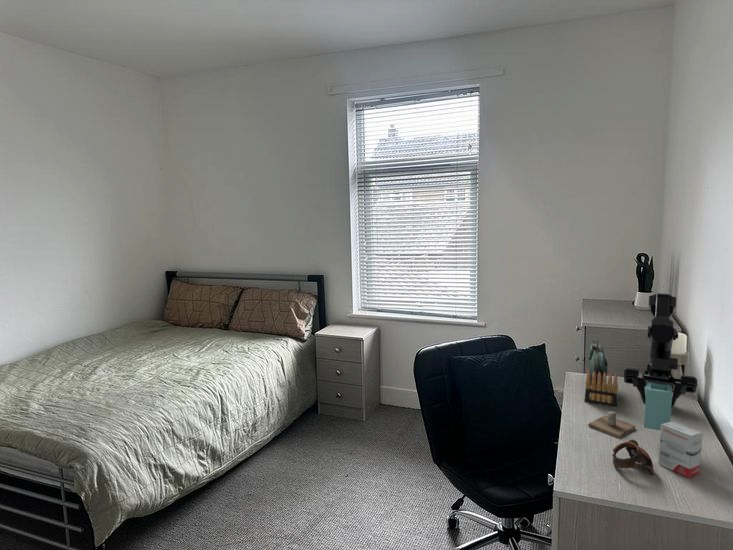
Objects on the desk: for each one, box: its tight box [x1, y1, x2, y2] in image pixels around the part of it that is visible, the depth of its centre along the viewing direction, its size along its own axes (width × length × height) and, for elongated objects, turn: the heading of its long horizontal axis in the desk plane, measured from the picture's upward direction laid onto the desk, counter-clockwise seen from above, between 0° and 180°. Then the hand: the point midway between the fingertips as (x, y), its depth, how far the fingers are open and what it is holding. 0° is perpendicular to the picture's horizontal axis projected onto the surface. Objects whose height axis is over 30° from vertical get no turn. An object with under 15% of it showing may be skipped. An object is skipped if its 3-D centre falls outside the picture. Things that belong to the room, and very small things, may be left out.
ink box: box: [657, 420, 703, 479], centre depth 130 cm, size 8×5×12 cm, turn 26°
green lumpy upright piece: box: [587, 339, 608, 390], centre depth 183 cm, size 20×6×20 cm, turn 158°
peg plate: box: [587, 410, 636, 439], centre depth 155 cm, size 10×10×5 cm
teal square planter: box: [643, 382, 673, 431], centre depth 143 cm, size 6×6×12 cm
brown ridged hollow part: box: [612, 439, 655, 476], centre depth 132 cm, size 12×10×8 cm
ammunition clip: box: [584, 369, 619, 408], centre depth 173 cm, size 11×2×12 cm, turn 59°
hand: (657, 406), depth 142 cm, fingers closed on teal square planter, 6 cm apart
